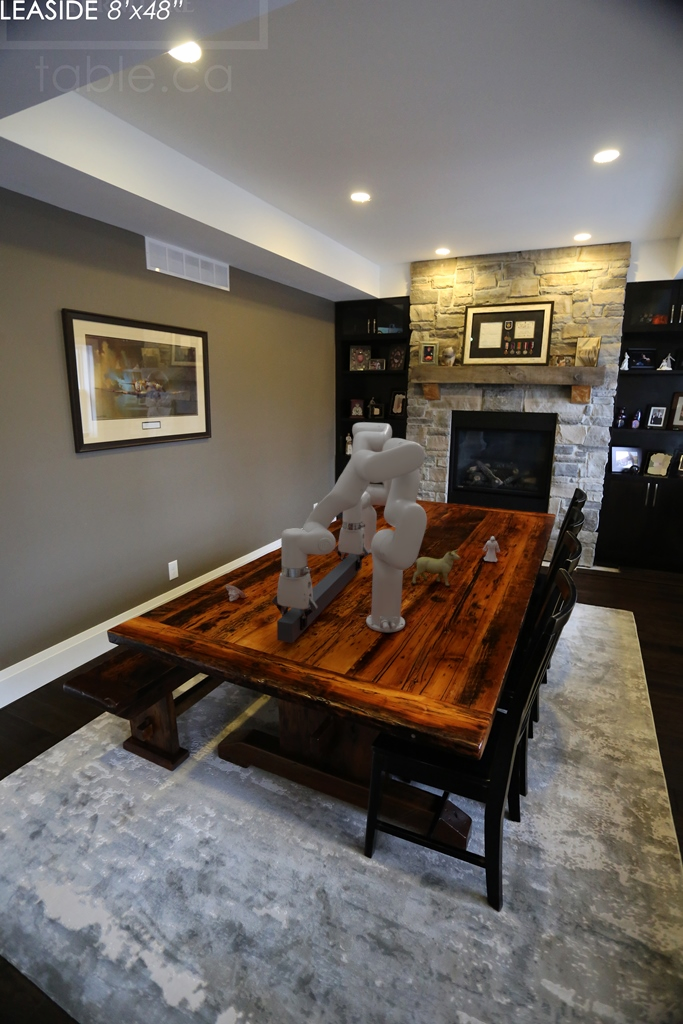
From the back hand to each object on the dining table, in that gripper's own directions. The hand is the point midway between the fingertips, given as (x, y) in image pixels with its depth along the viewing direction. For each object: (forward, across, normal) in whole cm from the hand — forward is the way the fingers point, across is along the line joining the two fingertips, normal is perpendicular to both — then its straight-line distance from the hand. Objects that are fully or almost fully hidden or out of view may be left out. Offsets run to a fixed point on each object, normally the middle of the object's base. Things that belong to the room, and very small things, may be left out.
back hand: (351, 568), depth 201 cm
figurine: (+4, -52, -44) cm, 68 cm away
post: (+2, 0, +27) cm, 27 cm away
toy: (+4, -33, -6) cm, 34 cm away
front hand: (0, 0, +54) cm, 54 cm away
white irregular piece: (+4, +32, +36) cm, 48 cm away
